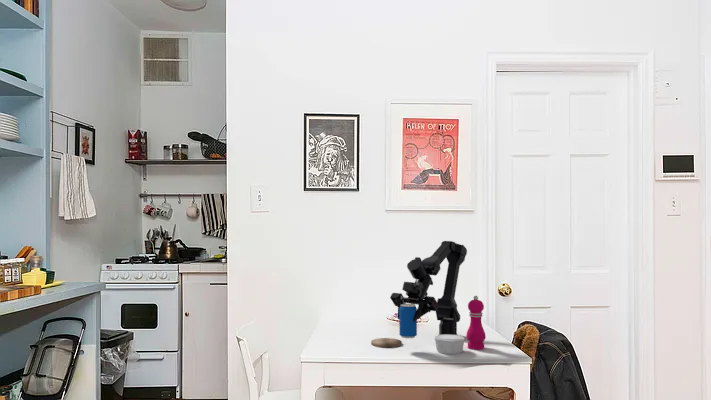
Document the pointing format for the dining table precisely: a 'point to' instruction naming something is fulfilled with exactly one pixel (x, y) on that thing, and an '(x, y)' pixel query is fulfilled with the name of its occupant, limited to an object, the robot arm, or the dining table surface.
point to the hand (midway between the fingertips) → (406, 319)
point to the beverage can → (407, 321)
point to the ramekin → (449, 344)
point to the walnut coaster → (386, 342)
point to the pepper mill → (475, 325)
